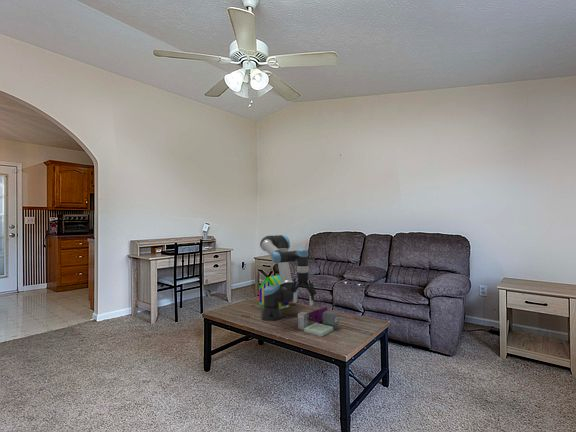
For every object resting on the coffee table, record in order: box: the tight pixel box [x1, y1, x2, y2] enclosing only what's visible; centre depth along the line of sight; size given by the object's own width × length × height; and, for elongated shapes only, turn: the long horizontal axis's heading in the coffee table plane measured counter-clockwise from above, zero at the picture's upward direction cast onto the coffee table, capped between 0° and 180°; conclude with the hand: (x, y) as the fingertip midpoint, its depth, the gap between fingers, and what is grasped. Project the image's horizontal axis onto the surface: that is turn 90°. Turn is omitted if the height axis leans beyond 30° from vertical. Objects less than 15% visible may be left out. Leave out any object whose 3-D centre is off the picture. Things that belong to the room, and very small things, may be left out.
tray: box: [303, 322, 334, 338], centre depth 215 cm, size 14×14×2 cm
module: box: [297, 311, 310, 331], centre depth 222 cm, size 5×5×10 cm
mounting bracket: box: [307, 306, 329, 324], centre depth 240 cm, size 9×8×18 cm
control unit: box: [322, 310, 339, 331], centre depth 222 cm, size 10×6×10 cm, turn 50°
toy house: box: [258, 274, 291, 310], centre depth 278 cm, size 24×14×25 cm, turn 42°
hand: (303, 303), depth 221 cm, fingers open, 13 cm apart
